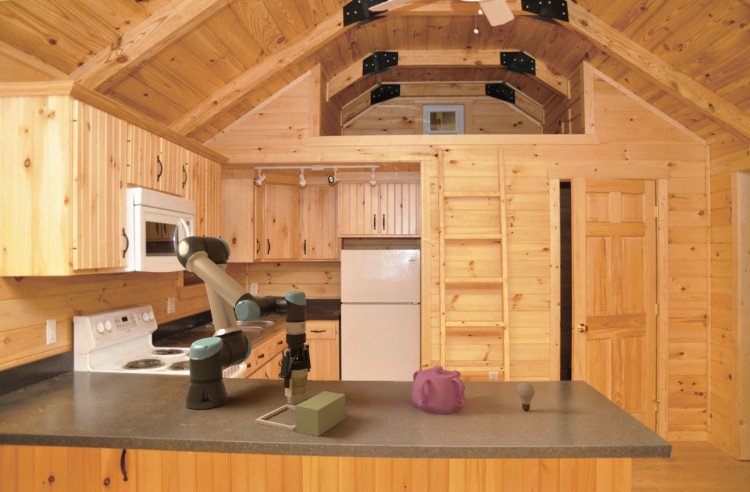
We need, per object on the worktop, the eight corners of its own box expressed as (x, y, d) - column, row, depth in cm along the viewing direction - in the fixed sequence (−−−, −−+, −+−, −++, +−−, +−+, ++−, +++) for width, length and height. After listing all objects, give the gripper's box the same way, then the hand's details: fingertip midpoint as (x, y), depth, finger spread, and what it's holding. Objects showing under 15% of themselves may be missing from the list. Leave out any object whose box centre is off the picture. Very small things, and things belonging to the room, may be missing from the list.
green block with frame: (255, 422, 147) (254, 398, 147) (286, 407, 162) (286, 384, 162) (318, 436, 136) (317, 410, 136) (345, 418, 150) (345, 394, 150)
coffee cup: (304, 407, 161) (303, 365, 162) (278, 405, 163) (278, 364, 164) (313, 398, 171) (312, 359, 171) (289, 396, 173) (288, 358, 173)
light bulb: (534, 408, 158) (534, 380, 158) (535, 414, 152) (534, 385, 153) (517, 407, 160) (517, 379, 160) (517, 412, 154) (516, 383, 154)
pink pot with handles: (412, 415, 153) (412, 373, 153) (411, 395, 174) (410, 358, 174) (468, 416, 152) (468, 374, 152) (460, 396, 173) (460, 359, 173)
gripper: (286, 338, 156) (286, 402, 156) (320, 328, 176) (320, 386, 175) (269, 336, 160) (269, 399, 159) (304, 327, 179) (304, 383, 179)
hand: (296, 392), depth 167 cm, fingers closed on coffee cup, 9 cm apart
